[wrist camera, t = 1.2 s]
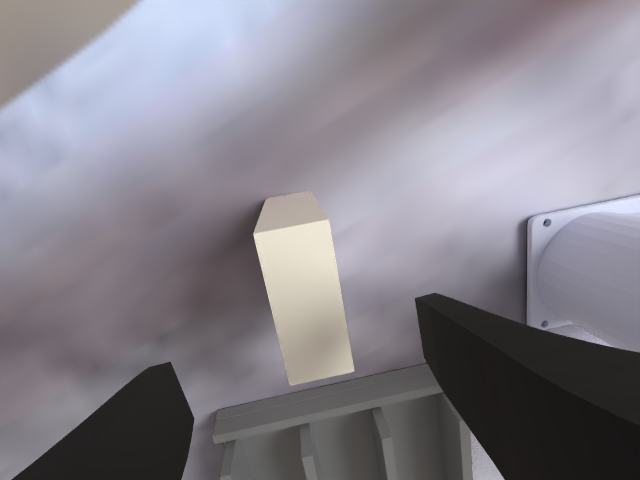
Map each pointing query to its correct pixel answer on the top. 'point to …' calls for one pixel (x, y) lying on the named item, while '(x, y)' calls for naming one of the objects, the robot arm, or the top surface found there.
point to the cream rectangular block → (303, 287)
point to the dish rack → (349, 432)
